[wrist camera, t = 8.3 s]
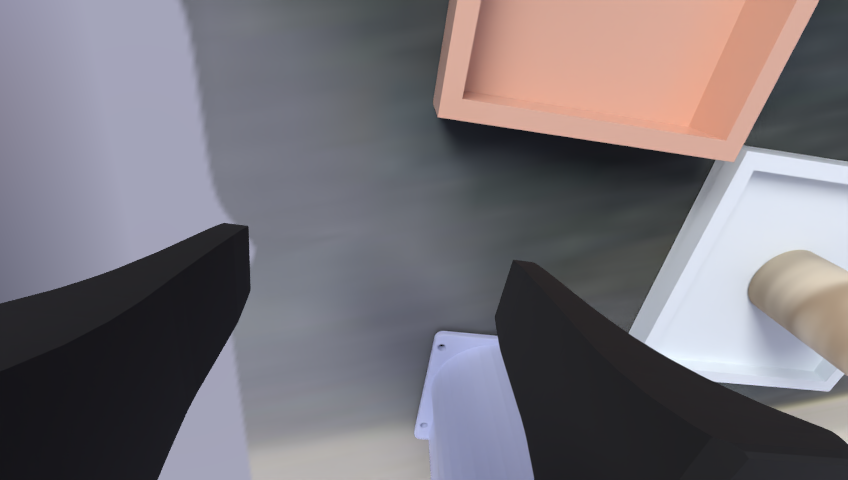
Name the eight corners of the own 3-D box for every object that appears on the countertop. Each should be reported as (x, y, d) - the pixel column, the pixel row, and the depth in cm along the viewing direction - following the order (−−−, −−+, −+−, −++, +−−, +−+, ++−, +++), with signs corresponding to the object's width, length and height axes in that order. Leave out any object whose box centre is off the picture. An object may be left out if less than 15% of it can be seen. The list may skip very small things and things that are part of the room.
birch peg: (797, 311, 24) (923, 399, 18) (736, 307, 24) (845, 396, 18) (835, 252, 22) (988, 329, 17) (770, 247, 22) (904, 323, 16)
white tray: (808, 373, 28) (829, 391, 26) (616, 356, 26) (628, 374, 25) (967, 180, 21) (1004, 191, 20) (724, 142, 20) (747, 150, 18)
